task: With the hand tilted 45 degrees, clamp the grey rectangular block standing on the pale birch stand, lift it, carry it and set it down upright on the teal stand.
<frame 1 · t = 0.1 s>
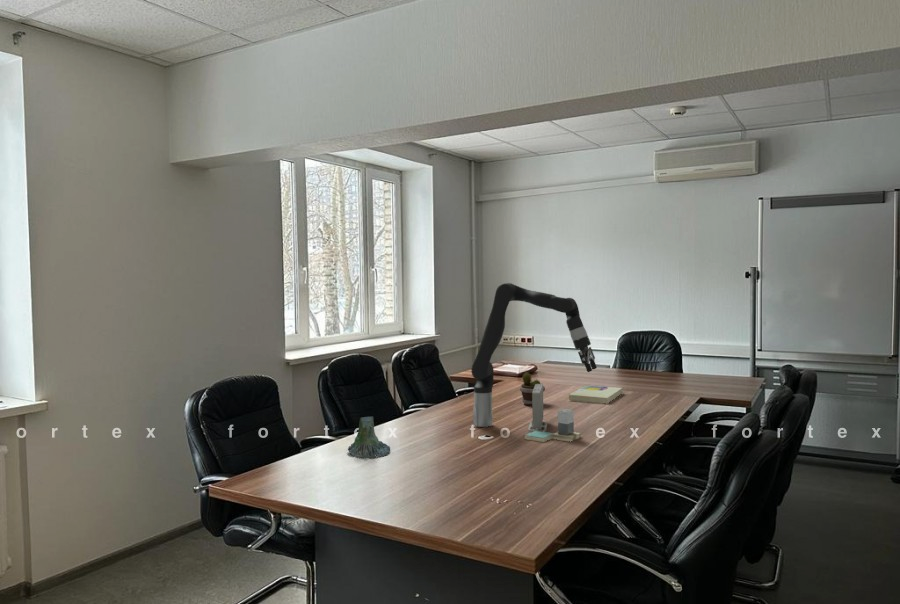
hand: (592, 370, 299), 31 cm above the table, tool tilted 20°, fingers open, 8 cm apart
stand a: (566, 438, 298), on the table
tree stump: (368, 452, 281), on the table
flowerpot: (532, 404, 377), on the table
puzzle box: (596, 398, 395), on the table
stand b: (539, 438, 299), on the table
network device: (537, 427, 321), on the table
grey rectangular block: (566, 433, 298), point 2 cm above the table, touching stand a
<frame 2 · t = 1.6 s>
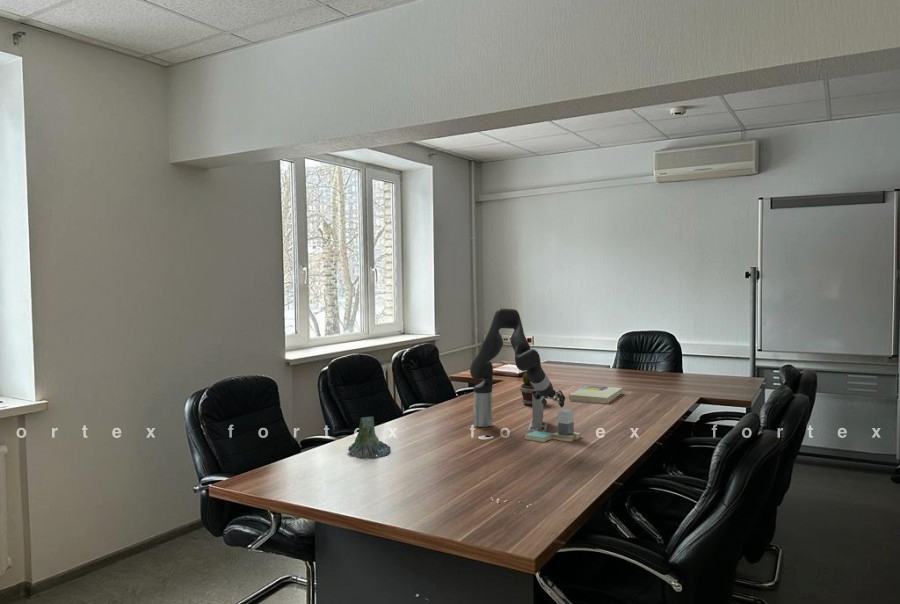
hand: (554, 404, 288), 18 cm above the table, tool tilted 45°, fingers open, 8 cm apart
nothing on the table moved.
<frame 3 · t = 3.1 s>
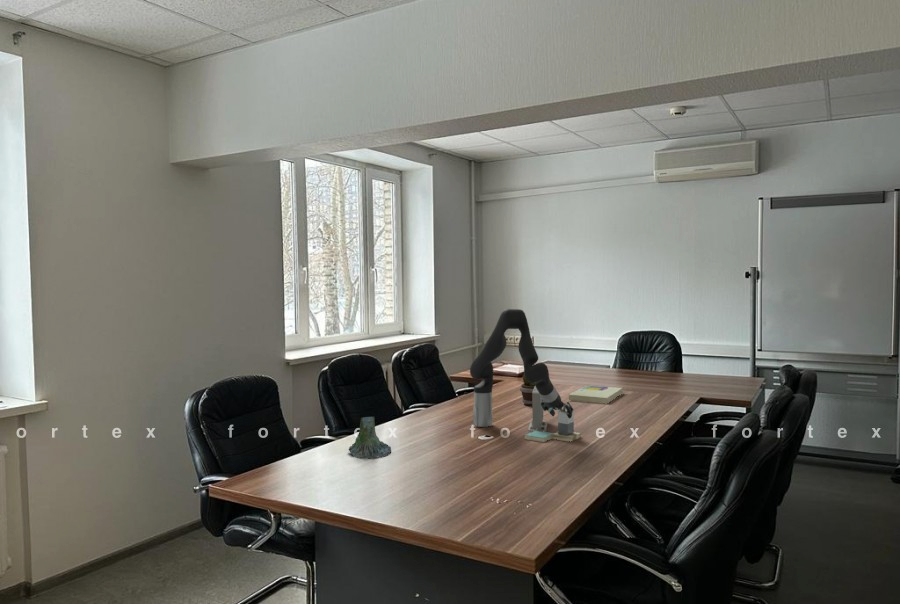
hand: (562, 415, 295), 11 cm above the table, tool tilted 45°, fingers open, 8 cm apart
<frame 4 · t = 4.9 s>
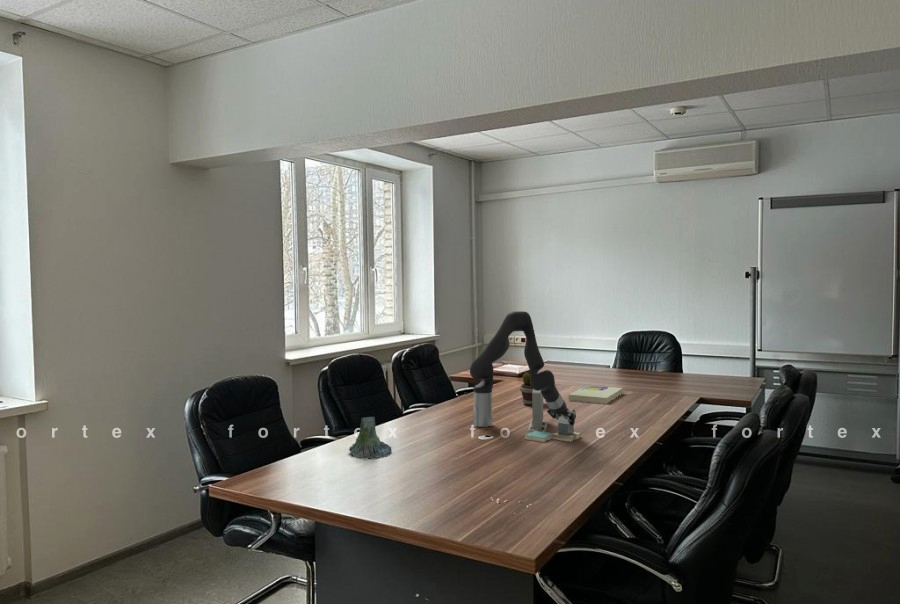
hand: (567, 422, 299), 7 cm above the table, tool tilted 45°, fingers closed on grey rectangular block, 5 cm apart
grey rectangular block: (566, 433, 298), point 2 cm above the table, touching gripper, stand a
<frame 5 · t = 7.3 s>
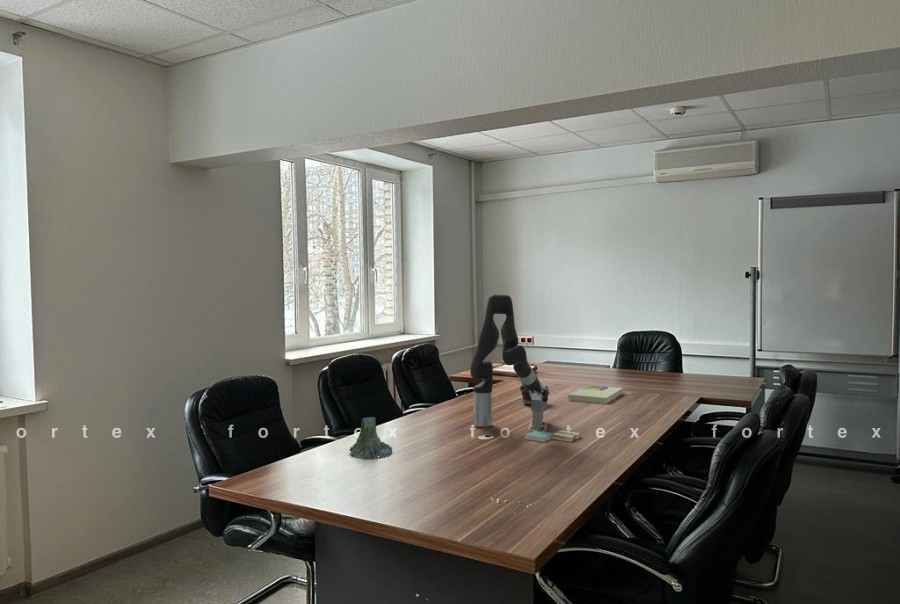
hand: (541, 399, 299), 18 cm above the table, tool tilted 45°, fingers closed on grey rectangular block, 5 cm apart
grey rectangular block: (539, 410, 298), point 13 cm above the table, touching gripper
when the fingers open (8 cm above the table, at t = 9.6 s): grey rectangular block drops 1 cm, resting on stand b.
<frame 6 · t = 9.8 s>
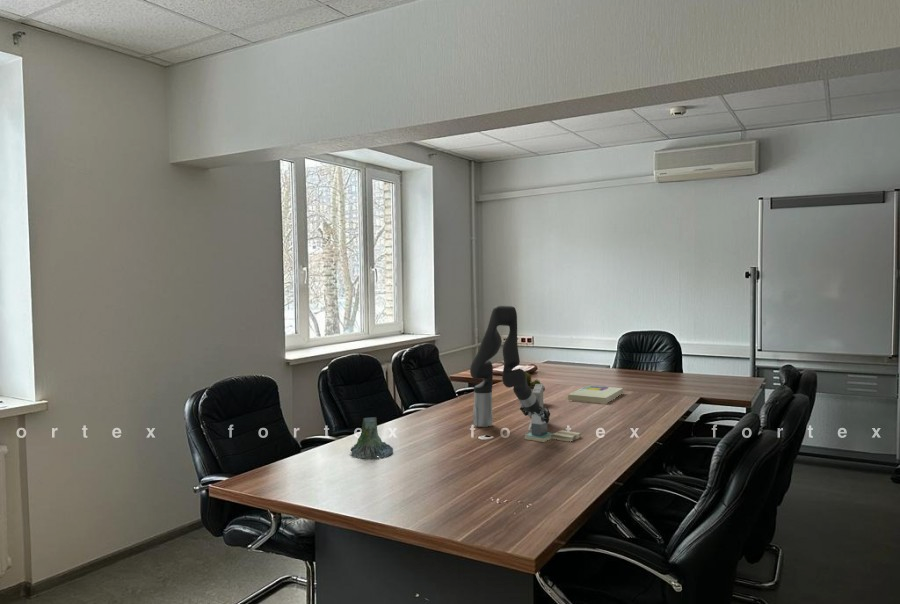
hand: (541, 420, 299), 8 cm above the table, tool tilted 45°, fingers open, 6 cm apart
grey rectangular block: (539, 434, 298), point 2 cm above the table, touching stand b
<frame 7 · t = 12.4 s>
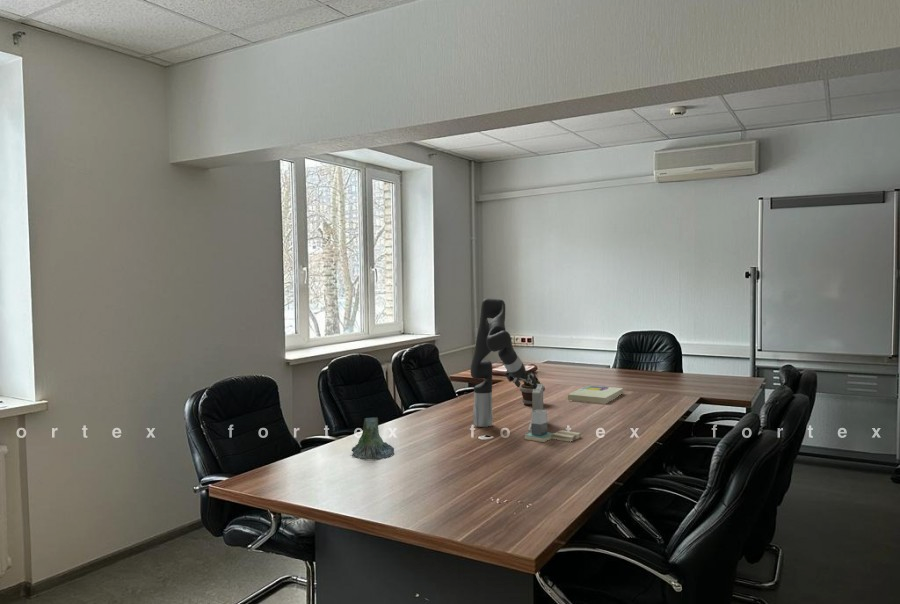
hand: (527, 386, 289), 26 cm above the table, tool tilted 45°, fingers open, 8 cm apart
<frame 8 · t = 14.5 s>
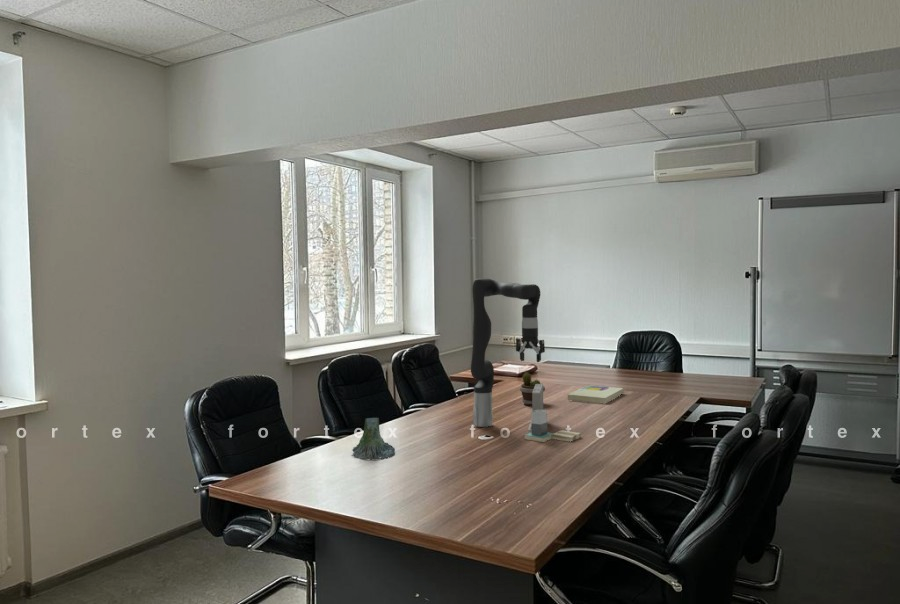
hand: (530, 361, 299), 36 cm above the table, tool pointing down, fingers open, 8 cm apart
at the end: grey rectangular block inside the target area on the stand b (0.1 cm from its centre), point 2.0 cm above the stand b's base; grey rectangular block tilted 0°; the gripper is holding nothing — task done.
